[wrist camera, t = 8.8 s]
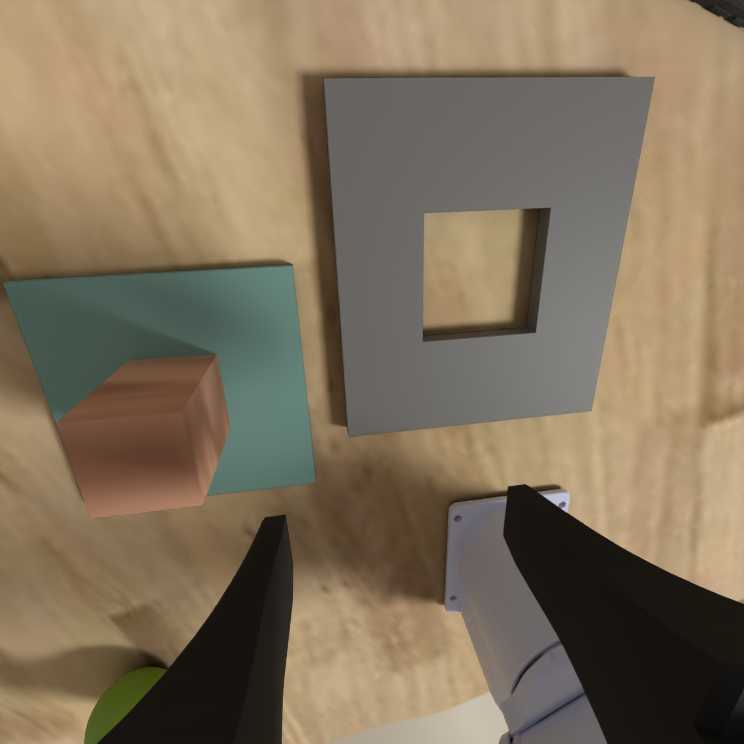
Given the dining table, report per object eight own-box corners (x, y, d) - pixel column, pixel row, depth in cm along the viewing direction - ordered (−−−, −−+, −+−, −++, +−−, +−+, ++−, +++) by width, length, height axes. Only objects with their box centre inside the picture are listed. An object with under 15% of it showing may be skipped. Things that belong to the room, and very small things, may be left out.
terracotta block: (230, 427, 21) (202, 505, 16) (148, 434, 21) (90, 518, 15) (217, 354, 20) (180, 412, 14) (128, 360, 19) (55, 423, 14)
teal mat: (315, 476, 24) (315, 482, 23) (94, 502, 22) (88, 509, 22) (292, 264, 19) (292, 266, 19) (11, 280, 18) (2, 282, 17)
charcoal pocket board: (580, 403, 24) (591, 411, 23) (346, 427, 23) (348, 437, 22) (637, 83, 18) (655, 76, 17) (323, 85, 17) (323, 77, 16)
